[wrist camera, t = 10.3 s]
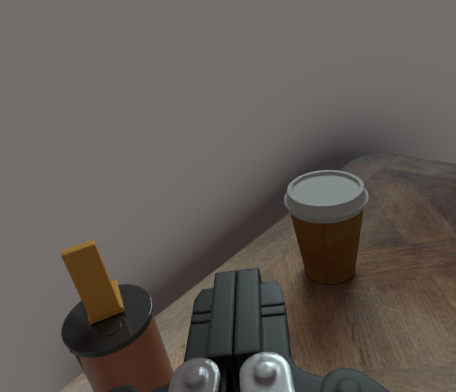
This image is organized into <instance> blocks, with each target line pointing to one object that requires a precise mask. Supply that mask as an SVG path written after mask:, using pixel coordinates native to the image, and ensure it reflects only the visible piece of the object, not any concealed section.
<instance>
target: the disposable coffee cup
mask: <svg viewBox="0 0 456 392" xmlns="http://www.w3.org/2000/svg"><path fill="white" fill-rule="evenodd" d="M367 201H368V192H367V190H366V189H365V188H364V184H363V182H362V180H361V179H359V178H358V177H357V176H355V175H353V174H351V173H347V172H344V171H336V170H324V171H315V172H311V173H307V174H304V175H302V176H299V177H298V178H296V179H294V180H293V181H292V182H291V183H290V184H289V186H288V188H287V193H286V195H285V197H284V202H285V205H286V207H287V209H288V210H289V212H290V213H291V217H292V221H293V225H294V229H295V233H296V237H297V241H298V244H299V248H300V252H301V256H302V260H303V263H304V267H305V271H306V274H307V275H308V276H309V277H310V278H311V279H312V280H314V281H316V282H319V283H323V284H338V283H342V282H344V281H346V280H348V279H350V278H351V277H352V276H353V274H354V272H355V266H356V259H357V252H358V246H359V238H360V230H361V224H362V216H363V209H364V208H365V205H366V203H367Z"/></svg>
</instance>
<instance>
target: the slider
mask: <svg viewBox="0 0 456 392" xmlns="http://www.w3.org/2000/svg"><path fill="white" fill-rule="evenodd" d="M61 253H62V254H61V255H62V258H63V260H64V263H65V265H66V267H67V269H68V271H69V274H70V276H71V278H72V280H73V282H74V284H75V287H76V289H77V291H78V293H79V295H80V297H81V300H82V302H83V304H84V306H85V308H86V311H87V314H88V321H89V323H90V325H91V324H94V323H96V322H99V321H101V320H104V319H106V318H109V317H111V316H114V315H116V314H119V313H121V312H124V306H123V302H122V298H121V294H120V291H119V287H118V283H117V280H113V281H110V278H109V276H108V273H107V271H106V269H105V266H104V263H103V261H102V258H101V256H100V253H99V251H98V248H97V246H96V243H95V241H94V240H91V241H88V242H85V243H82V244H79V245H76V246H73V247H70V248H68V249H65V250H62V251H61Z"/></svg>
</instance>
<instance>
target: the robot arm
mask: <svg viewBox="0 0 456 392" xmlns="http://www.w3.org/2000/svg"><path fill="white" fill-rule="evenodd" d="M192 313H193V315H192V318H191V325H190V329H189V335H188V340H187V346H186V352H185V358H184V362H183V364H181V365H180V366H179V367H178V368H177V369H176V370H175V372H174V374H173V375H172V378H171V381H170V382H169V383H167V384H165V385H163V386H161V387H159V388H156V389H154V390H151V391H149V392H389V391H388V390H386V389H385V388H384V387H382V386H381V385H380V384H378V383H377V382H376V381H374V380H373V379H372V378H370V377H369V376H368V375H366V374H365V373H363V372H361V371H359V370H356V369H351V368H341V369H337V370H334V371H332V372H330V373H329V374H327V376H326V377H322V376H318V375H313V374H310V373H307V372H305V371H303V370H301V369H300V368H299V367H298V366H296V364H295V363H294V362H293V360H292V356H291V347H290V338H289V329H288V321H287V315H286V308H285V302H284V296H283V291H282V289H281V288H280V287H279V285H278V284H277V283H276V281H272V282H263V283H262V281H261V276H260V271H259V268H253V269H244V270H238V272H237V271H228V272H219V273H216V274H215V280H214V288H211V289H202V290H201V292H200V293H199V295H198V296H197V298H196V299H195V301H194V306H193V312H192ZM108 392H140V391H139V390H138V389H137V388H136V387H134V386H130V385H122V386H118V387H115V388H113V389H111V390H110V391H108Z"/></svg>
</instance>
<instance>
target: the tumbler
mask: <svg viewBox="0 0 456 392" xmlns="http://www.w3.org/2000/svg"><path fill="white" fill-rule="evenodd" d="M118 287H119V291H120V294H121V298H122V302H123V306H124V312H121V313H119V314H116V315H114V316H111V317H109V318H106V319H104V320H101V321H99V322H96V323H94V324H91V325H90V323H89V321H88V314H87V311H86V308H85V306H84V304H83V302H82V301H81V302H79V303H78V304H77V305H76V306H75V307H74V308H73V309H72V310H71V311H70V313H69V314H68V315H67V317H66V319H65V321H64V323H63V326H62V332H61V335H62V340H63V342H64V344H65V346H66V348H67V349H68V350H69V351H70V352H71V353H73V354H74V355H75V356H76V358H77V360H78V362H79V364H80V366H81V368H82V369H83V372H84V374H85V375H86V377H87V379H88V381H89V383H90V385H91V387H92V389H93V391H94V392H108V391H110V390H111V389H113V388H115V387H118V386H122V385H130V386H134V387H136V388H137V389H138V390H139V391H140V392H149V391H151V390H154V389H156V388H159V387H161V386H163V385H165V384H167V383H169V382H170V381H171V378H172V375H173V374H174V372H173V369H172V366H171V364H170V361H169V358H168V355H167V352H166V349H165V347H164V344H163V341H162V338H161V335H160V333H159V330H158V327H157V324H156V321H155V318H154V316H153V311H154V306H153V302H152V299H151V297H150V295H149V293H148V292H147V291H146V290H144V289H143V288H141V287H139V286H135V285H130V284H122V285H118Z"/></svg>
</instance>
